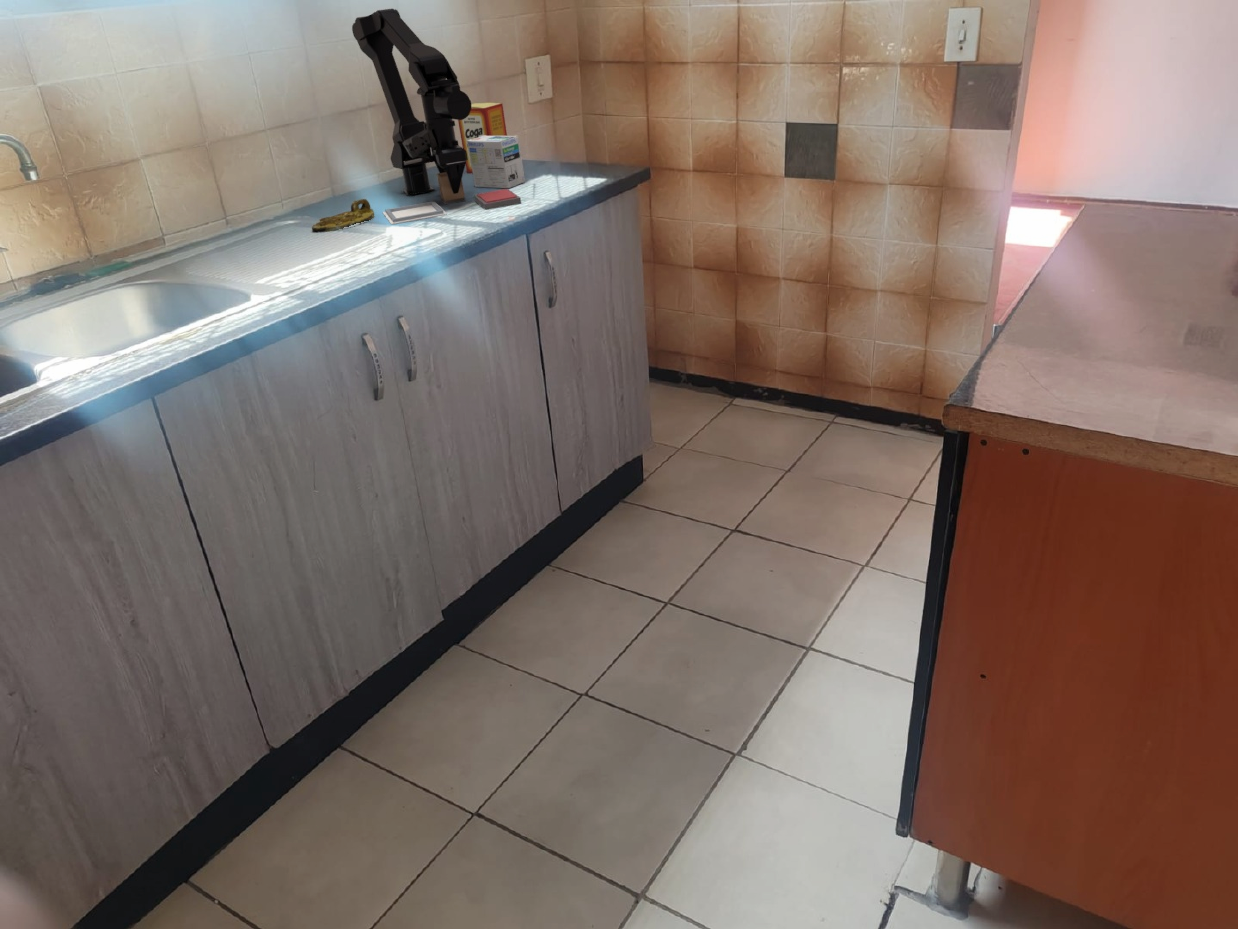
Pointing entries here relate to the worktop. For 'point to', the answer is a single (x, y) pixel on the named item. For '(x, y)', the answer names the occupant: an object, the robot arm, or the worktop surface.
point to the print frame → (413, 212)
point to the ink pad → (497, 199)
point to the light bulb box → (496, 161)
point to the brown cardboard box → (449, 190)
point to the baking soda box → (482, 124)
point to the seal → (346, 217)
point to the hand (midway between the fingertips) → (451, 189)
